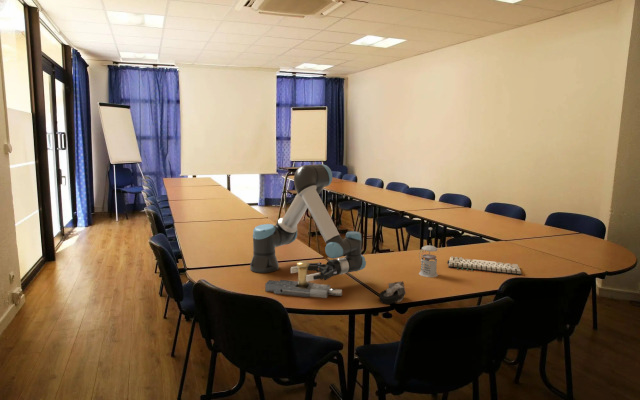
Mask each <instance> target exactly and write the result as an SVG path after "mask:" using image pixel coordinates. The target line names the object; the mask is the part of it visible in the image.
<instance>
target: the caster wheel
mask: <svg viewBox="0 0 640 400" xmlns="http://www.w3.org/2000/svg"><path fill="white" fill-rule="evenodd" d="M387 285H388V288H386V289H384V290H381V292H379V295H378V296H379V300H380V303H382V304H385V305H391V304H395V303H400V302H402V301H403V300H404V298H405V296H406V294H407V293H406V287H405V283H404V281H397V282H390V283H388V284H387Z"/></svg>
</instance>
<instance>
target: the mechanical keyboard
mask: <svg viewBox="0 0 640 400" xmlns="http://www.w3.org/2000/svg"><path fill="white" fill-rule="evenodd" d="M447 264H448V267H447V268H448V269H449V270H454V271H455V270H456V271H464V272H465V271H466V272H475V273H477V272H478V273H486V274H497V275H499V274H504V275H510V276H511V275H512V276H522V275H523V274H522V271H521V269H520V267H519V264H518V263H512V264H511V263H507V262H505V263H504V262H500V261H492V260H491V261H490V260H483V259H473V258H472V259H471V258H463V257H461V256H459V257H458V256H455V257H454V256H452V255H451V256H450V257H449V259H448V260H447Z"/></svg>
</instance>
